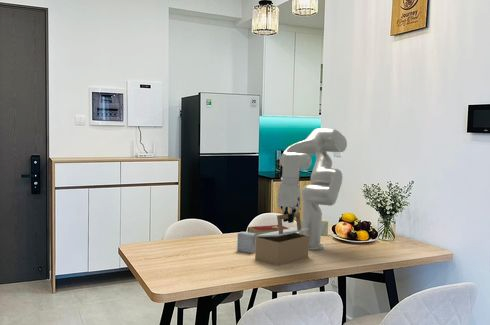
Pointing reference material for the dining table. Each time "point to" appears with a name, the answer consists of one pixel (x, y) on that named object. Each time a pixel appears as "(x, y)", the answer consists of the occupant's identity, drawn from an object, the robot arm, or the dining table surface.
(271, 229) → the hardcover book
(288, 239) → the carton
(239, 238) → the medicine box
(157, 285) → the dining table surface
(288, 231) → the carton lid
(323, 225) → the candy box
